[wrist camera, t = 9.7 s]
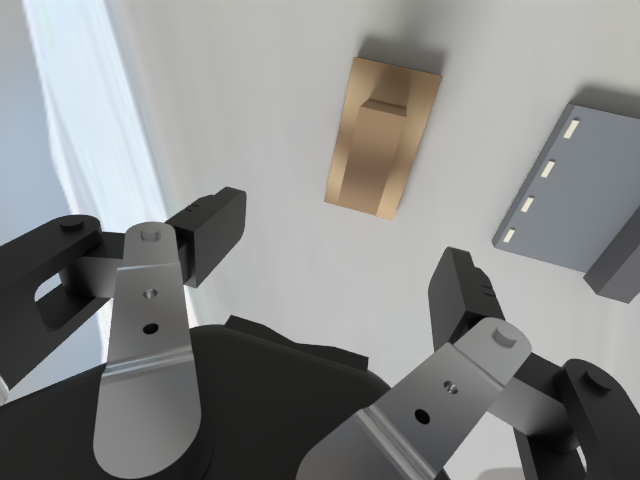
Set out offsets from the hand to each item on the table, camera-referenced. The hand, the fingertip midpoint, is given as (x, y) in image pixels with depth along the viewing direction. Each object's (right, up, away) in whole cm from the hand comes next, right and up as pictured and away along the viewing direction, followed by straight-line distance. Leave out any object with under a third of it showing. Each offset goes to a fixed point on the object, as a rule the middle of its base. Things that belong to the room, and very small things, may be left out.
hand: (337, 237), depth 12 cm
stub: (+4, +8, +15) cm, 18 cm away
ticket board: (+22, +3, +13) cm, 26 cm away
